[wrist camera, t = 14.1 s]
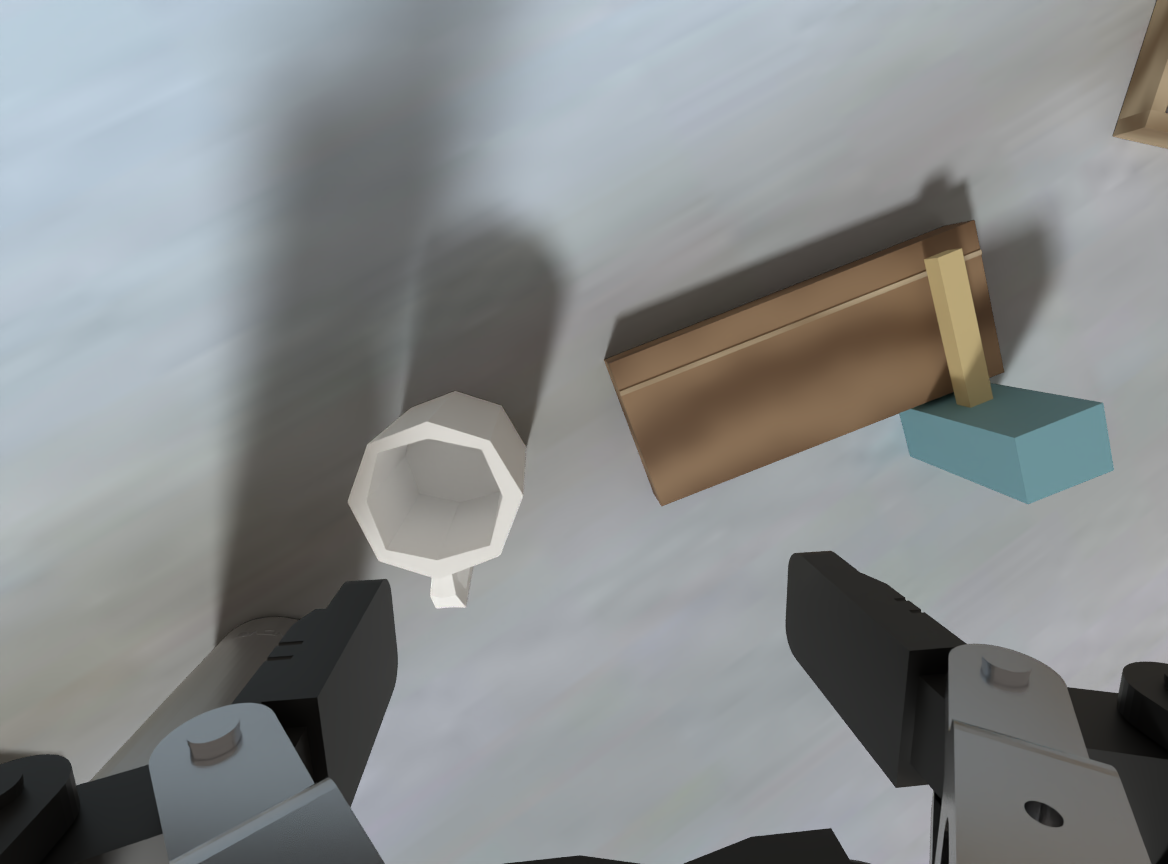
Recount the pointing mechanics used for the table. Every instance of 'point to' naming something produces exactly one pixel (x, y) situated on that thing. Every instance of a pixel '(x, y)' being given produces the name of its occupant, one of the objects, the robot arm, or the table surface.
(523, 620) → the table surface
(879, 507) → the table surface
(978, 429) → the teal ice pop
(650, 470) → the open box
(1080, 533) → the table surface
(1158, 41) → the tube rack
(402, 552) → the mug
